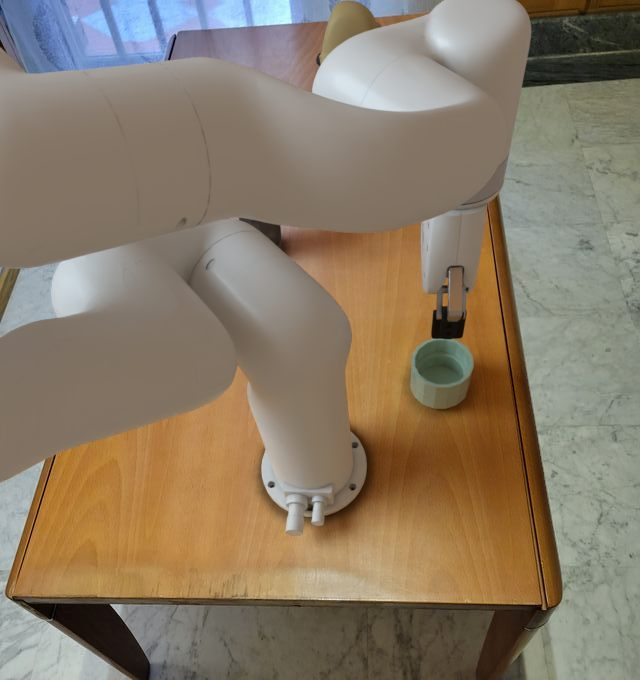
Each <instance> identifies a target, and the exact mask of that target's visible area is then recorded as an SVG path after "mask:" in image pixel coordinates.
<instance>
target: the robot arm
mask: <svg viewBox="0 0 640 680" xmlns="http://www.w3.org/2000/svg"><path fill="white" fill-rule="evenodd" d="M531 39H532V23H531V20H530V16H529V14H528V12H527V9H526V8H525V7H524V6H523V4H521V3H520V2H519V1H518V0H442V1H441V2H439V3H438V4H437V5H435V6H434V8H432V10H431V11H430V12H429V13H428V14H425V15H421V16H418V17H414V18H412V19H408V20H404V21H400V22H397V23H393V24H389V25H385V26H382V27H380V28H376V29H373V30H369V31H366V32H363V33H361V34H358V35H355V36H353V37H351V38H349V39H347V40H346V41H344V42H343V43H341V44H340V45H339V46H337V47H336V48H335V49H334V50H332V51H331V53H330V54H329V55H328V56H327V57H326V58H325V60H324V61H323V62H322V64H321V66H320V67H319V66H318V69H317V71H316V74H315V77H314V79H313V83H312V89H311V91H308V90H306V89H303V88H301V87H299V86H296V85H294V84H292V83H289V82H287V81H284V80H282V79H280V78H277V77H275V76H273V75H271V74H268V73H266V72H263V71H260V70H258V69H255V68H252V67H249V66H246V65H243V64H239V63H236V62H232V61H228V60H224V59H219V58H214V57H209V56H208V57H207V56H195V57H185V58H178V59H170V60H161V61H160V60H159V61H151V62H143V63H133V64H124V65H115V66H114V65H113V66H105V67H95V68H85V69H68V70H59V71H58V70H57V71H48V72H40V73H27V71H26V70H25V69H24V68H23V67H21V66H20V65H19V64H18V63H17V61H16V60H14V59H13V58H12V57H11V56H10V55H9V54H8V53H7V52H6V51H5V50H4V49H3V48H2V47H1V46H0V268H4V269H12V270H20V269H21V270H23V269H33V268H39V267H43V266H47V265H54V264H57V263H59V264H58V265H57V267H56V269H55V271H54V273H53V276H52V279H51V284H50V301H51V306H52V309H53V311H54V314H55V316H56V317H53V318H44V319H38V320H35V321H31V322H28V323H26V324H23V325H21V326H19V327H16V328H14V329H12V330H10V331H9V332H6V333H5V334H4V335H2V336H0V484H1V483H4V482H5V481H7V480H10V479H12V478H14V477H15V476H18V475H19V474H21V473H24V472H25V471H27V470H28V469H31V468H32V467H34V466H36V465H38V464H40V463H42V462H43V461H45V460H47V459H50V458H51V457H54V456H56V455H59V454H60V453H63V452H66V451H69V450H72V449H74V448H78V447H81V446H84V445H88V444H91V443H95V442H99V441H102V440H105V439H108V438H111V437H114V436H118V435H121V434H124V433H127V432H131V431H133V430H137V429H140V428H143V427H146V426H149V425H151V424H152V425H153V424H155V423H159V422H162V421H165V420H169V419H171V418H174V417H177V416H181V415H183V414H187V413H189V412H193V411H196V410H198V409H200V408H202V407H205V406H207V405H209V404H210V403H213V402H214V401H216V400H217V399H219V398H220V397H221V396H222V395H224V393H225V392H227V391H228V390H229V388H230V387H231V386H232V384H233V382H234V380H235V377H236V375H237V371H238V367H239V369H240V370H241V371H242V373H243V374H244V376H245V378H246V379H247V380H248V382H247V386H246V395H247V396H246V397H247V401H248V405H249V407H250V411H251V413H252V416H253V419H254V421H255V423H256V427H257V429H258V432H259V435H260V438H261V441H262V443H263V447H264V449H265V450H264V454H263V457H262V460H261V467H260V470H261V478H262V482H263V486H264V488H265V490H266V492H267V494H268V495H269V497H270V499H271V500H272V501H273V502H274V503H275V504H277V505H278V507H280V508H281V509H283V510H285V511H286V512H288V513H287V516H286V524H285V525H286V526H285V534H286V535H288V536H291V537H292V536H293V537H300V536H303V534H304V525H305V517H306V518H311V525H313V526H314V527H315V526H317V527H322V526H324V524H325V516H329V515H332V514H334V513H337V512H339V511H340V510H342V509H344V508H346V507H347V506H348V505H350V504H351V502H353V501H354V500H355V499H356V497H357V496H358V495H359V493H360V492H361V490H362V488H363V486H364V484H365V481H366V477H367V473H368V472H367V471H368V470H367V469H368V468H367V467H368V463H367V456H366V452H365V448H364V447H363V445H362V442H361V441H360V439H359V438H358V437H357V436H356V435H355V433H354V432H352V431H351V425H350V415H349V413H350V412H349V403H348V395H347V385H346V384H347V383H346V370H347V363H348V359H349V355H350V352H351V348H352V341H353V332H352V326H351V325H352V324H351V322H350V320H349V317H348V316H347V313H346V312H345V311H344V309H343V307H342V306H341V305H340V304H339V303H338V301H337V300H336V298H334V296H333V295H331V294H330V293H329V291H328V290H327V289H326V288H325V287H324V286H323V285H322V284H320V283H319V282H318V281H317V280H316V279H315V278H314V277H313V276H312V275H311V274H310V273H308V272H307V271H306V270H305V269H304V268H303V267H302V266H301V265H300V264H299V263H298V262H296V261H295V260H293V258H291V256H289V255H288V254H287V253H286V252H284V251H283V249H282V250H281V249H280V248H279V247H278V246H276V245H275V244H274V243H273V242H272V241H271V240H270V239H269V238H267V237H266V236H265V235H264V234H263V233H261V232H260V231H259V230H258V229H256V228H255V227H253V226H252V225H250V224H248V223H246V222H243V221H240V220H239V218H246V219H252V220H256V221H261V222H265V223H270V224H276V225H280V226H284V227H290V228H299V229H309V230H312V229H313V230H319V231H325V232H336V233H347V234H348V233H349V234H376V233H377V234H379V233H385V232H391V231H397V230H400V229H403V228H407V227H409V226H413V225H416V224H418V223H421V224H420V266H421V267H420V269H421V272H420V273H421V288H422V290H423V292H424V293H425V294H427V295H436V301H435V302H436V303H435V305H436V306H435V309H433V310H432V320H431V330H430V334H431V335H430V336H431V339H432V338H433V339H454V340H457V339H458V340H460V339H462V338H464V332H465V327H466V320H467V312H468V311H467V294H469V293H471V292H472V291H473V290H474V288H475V285H476V281H477V276H478V272H479V265H480V259H481V253H482V247H483V241H484V240H483V239H484V234H485V227H486V218H487V210H488V204H489V203H490V202H492V201H493V200H494V199H495V198H496V197H498V195H499V194H500V193H501V191H502V189H503V187H504V182H505V176H506V171H507V166H508V161H509V157H510V151H511V145H512V141H513V135H514V130H515V126H516V119H517V115H518V110H519V109H518V108H519V104H520V100H521V99H520V98H521V93H522V88H523V84H524V83H523V82H524V77H525V73H526V68H527V63H528V57H529V53H530V47H531ZM446 281H447V284H445V283H446ZM444 294H447V305H443V304H444V303H443V302H444ZM352 489H353V490H352Z"/></svg>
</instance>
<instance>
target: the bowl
mask: <svg viewBox="0 0 640 680" xmlns="http://www.w3.org/2000/svg"><path fill="white" fill-rule="evenodd" d="M474 363H475V362H474V356H473V354H472V353H471V351H470V349H469V347H467V346H466V345H465V344H464V343H462V342H461V341H460V340H457V339H433V338H432V337H431V338H429V339H426V340H424V341H423V342H421V343H420V344H418V345H417V346H416V347H415V349H414V351H413V352H412V355H411V361H410V374H409V375H410V377H409V390H410V392H411V393H412V395H413V398H414V399H416V400H417V401H418V402H419V403H420V404H422V405H423V406H425V407H429V408H431V409H434V410H437V409H438V410H446V409H449V408H453V407H456V406H457V405H459V404H460V403H461V402H462V401H463V400H465V398H466V397H467V395H468V393H469V390H470V386H471V381H472V376H473V372H474V367H475V366H474V365H475V364H474Z"/></svg>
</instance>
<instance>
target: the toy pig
mask: <svg viewBox="0 0 640 680" xmlns="http://www.w3.org/2000/svg"><path fill="white" fill-rule="evenodd" d="M380 27H383V26H382V24H381V23H380V22H378V21H377V20H376V17H375V16H374V14H373V13H372V11H371V10H370V9H369V8H368V7H367V6H366V5H364V4H363V3H361V2H359V1H356V0H341V1H339V2H337V3H336V4H335V5H334V6H333V8H332V11H331V13H330V16H329V17H328V22H327V24H326V27H325V33H324V37H323V41H322V47H321V51H320V52H319V53H318V54H317V55H316V58H315V63H316V65H317V66H318V68H319V67H320V66H321V64H322V62H323V61H324V60H325V58H326V57H327V56H328V55H329V54H330V53H331V51H332V50H334V49H335V48H336V47H337V46H339V45H340V44H341V43H343V42H344V41H346V40H347V39H349V38H351V37H353V36H355V35H358V34H361V33H363V32H366V31H369V30H373V29H376V28H380Z"/></svg>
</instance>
